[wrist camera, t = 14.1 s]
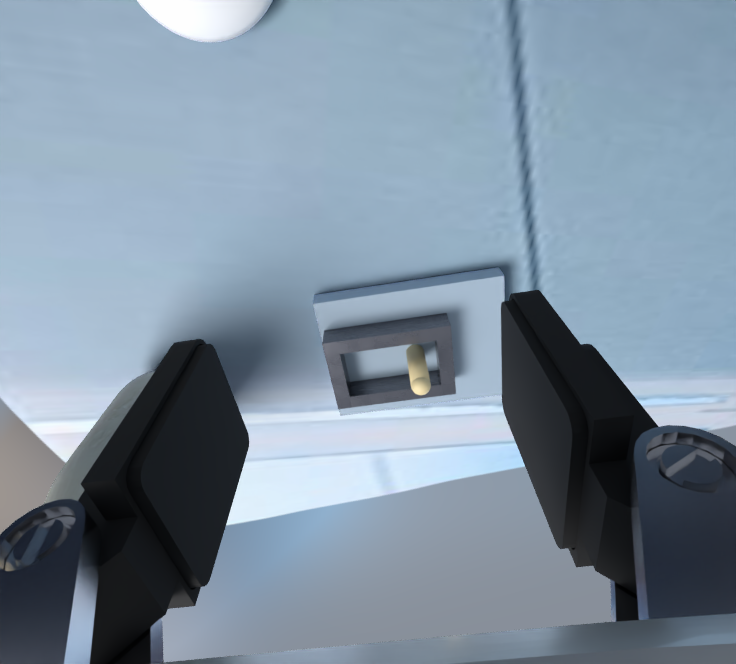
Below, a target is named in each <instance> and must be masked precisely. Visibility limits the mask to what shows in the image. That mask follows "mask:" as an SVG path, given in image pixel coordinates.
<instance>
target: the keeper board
mask: <svg viewBox="0 0 736 664" xmlns="http://www.w3.org/2000/svg"><path fill="white" fill-rule="evenodd" d="M502 302H504V275H503V273H502V271H501V270H500V268H499V267H497V268H490V269H483V270H477V271H470V272H463V273H457V274H450V275H443V276H436V277H430V278H423V279H416V280H410V281H403V282H396V283H390V284H383V285H376V286H370V287H363V288H356V289H350V290H343V291H336V292H330V293H323V294H316V295H314V300H313V307H314V311H315V315H316V319H317V323H318V327H319V332H320V336H321V340H322V342H323V335H324V330H330V329H337V328H344V327H351V326H358V325H365V324H372V323H379V322H386V321H393V320H400V319H407V318H414V317H421V316H427V315H434V314H441V313H447V316H448V319H449V322H450V325H451V334H452V347H453V360H454V372H455V385H456V394H452V395H444V396H437V397H429V398H421V399H414V400H406V401H398V402H391V403H383V404H375V405H368V406H360V407H352V408H345V409H339V412H340V416H342V415H350V414H358V413H365V412H373V411H381V410H388V409H396V408H404V407H412V406H419V405H427V404H435V403H442V402H450V401H458V400H465V399H473V398H481V397H489V396H496V395H502V357H501V303H502ZM344 356H345V361H346V365H347V370H348V374H349V379H350V382H353V381H360V380H367V379H375V378H382V377H390V376H397V375H405V374H409V376H410V383H411V388H412V390H413V392H414V393H415V394H417V395H425V394H427V393H428V392H429V390H430V388H431V383H430V378H429V373H428V371H434V370H438V369H437V359H436V349H435V341H431V342H424V343H417V344H410V345H402V346H395V347H388V348H381V349H374V350H367V351H359V352H352V353H345V354H344Z"/></svg>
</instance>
